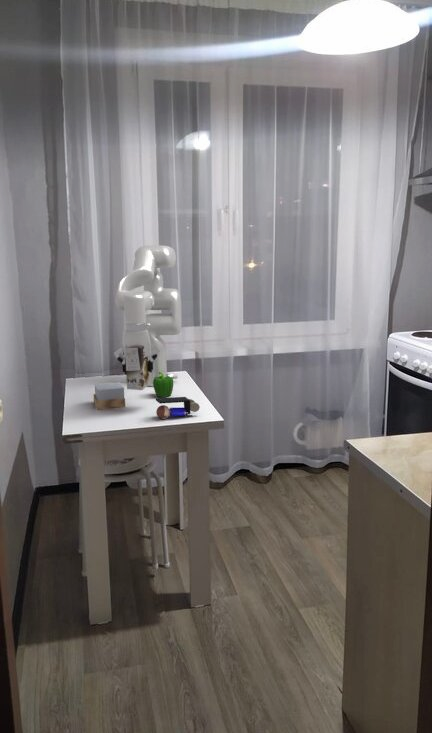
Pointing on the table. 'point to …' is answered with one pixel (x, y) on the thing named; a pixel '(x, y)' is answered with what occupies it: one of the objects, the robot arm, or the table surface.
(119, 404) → the tower base block
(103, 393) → the tower top block
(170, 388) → the bell pepper
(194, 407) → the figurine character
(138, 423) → the table surface
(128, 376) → the coffee box
